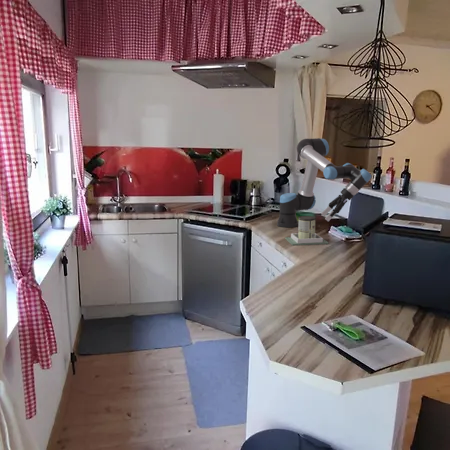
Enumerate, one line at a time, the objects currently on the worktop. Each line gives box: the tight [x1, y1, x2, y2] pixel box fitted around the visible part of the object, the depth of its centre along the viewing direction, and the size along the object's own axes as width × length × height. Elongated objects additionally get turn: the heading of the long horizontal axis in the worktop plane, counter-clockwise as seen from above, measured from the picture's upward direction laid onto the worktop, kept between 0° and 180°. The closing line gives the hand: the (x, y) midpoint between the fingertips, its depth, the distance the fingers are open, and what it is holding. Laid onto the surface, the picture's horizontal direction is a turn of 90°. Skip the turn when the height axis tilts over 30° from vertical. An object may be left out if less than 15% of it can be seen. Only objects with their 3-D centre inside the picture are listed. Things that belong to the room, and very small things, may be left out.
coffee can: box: [297, 215, 316, 239], centre depth 249 cm, size 10×10×14 cm
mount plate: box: [284, 232, 329, 246], centre depth 250 cm, size 17×22×4 cm
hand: (324, 217), depth 248 cm, fingers open, 13 cm apart
